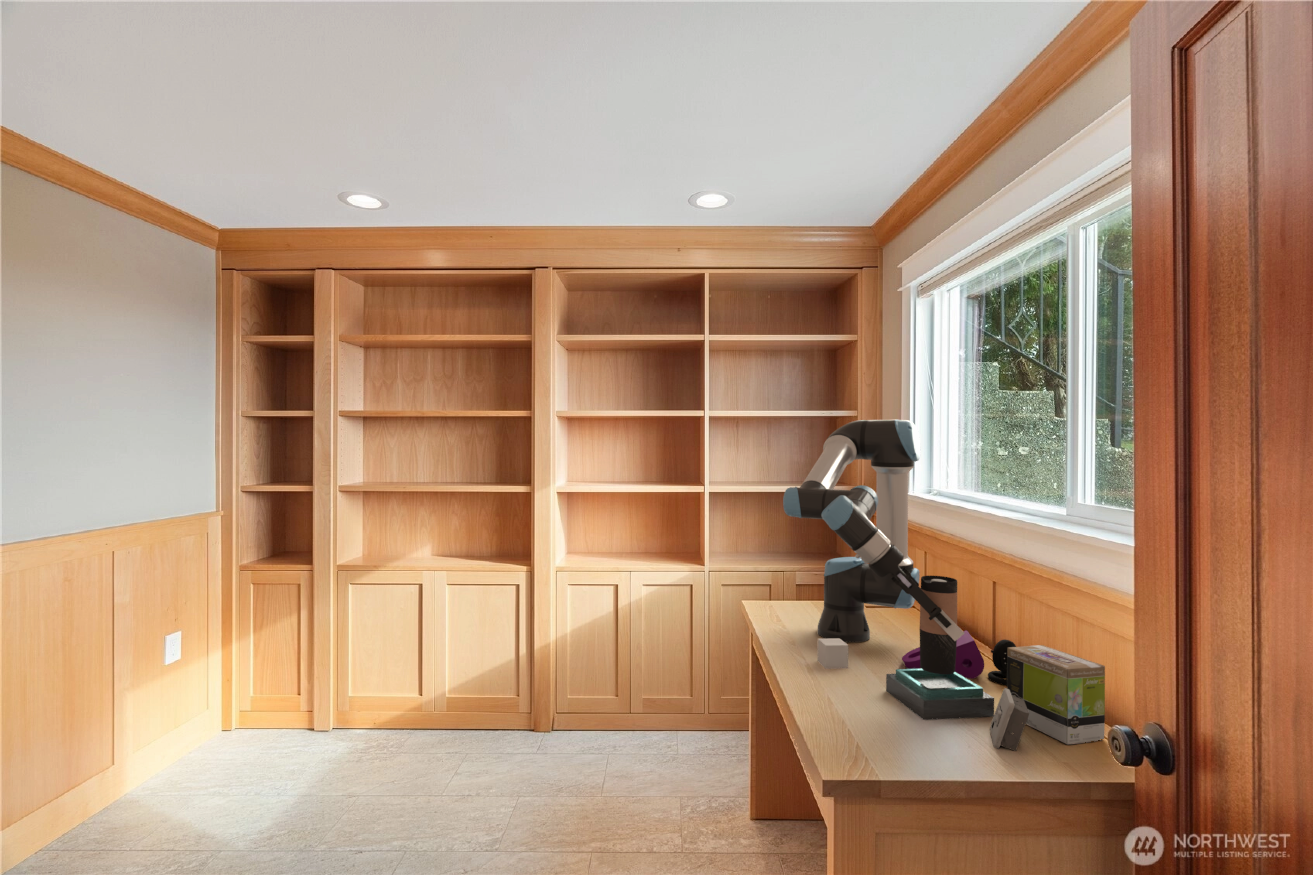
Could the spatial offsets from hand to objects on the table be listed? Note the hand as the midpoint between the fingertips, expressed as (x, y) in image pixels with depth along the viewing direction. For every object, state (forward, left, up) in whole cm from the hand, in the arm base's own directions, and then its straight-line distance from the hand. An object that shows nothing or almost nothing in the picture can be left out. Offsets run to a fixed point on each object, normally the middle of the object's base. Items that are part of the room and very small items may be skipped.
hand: (954, 631), depth 145 cm
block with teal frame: (-1, -3, -16) cm, 17 cm away
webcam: (-13, +22, -16) cm, 30 cm away
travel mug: (-1, -3, -9) cm, 9 cm away
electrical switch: (+18, 0, -16) cm, 24 cm away
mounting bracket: (-22, +10, -17) cm, 30 cm away
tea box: (+13, +14, -16) cm, 25 cm away
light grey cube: (-28, -16, -17) cm, 37 cm away
